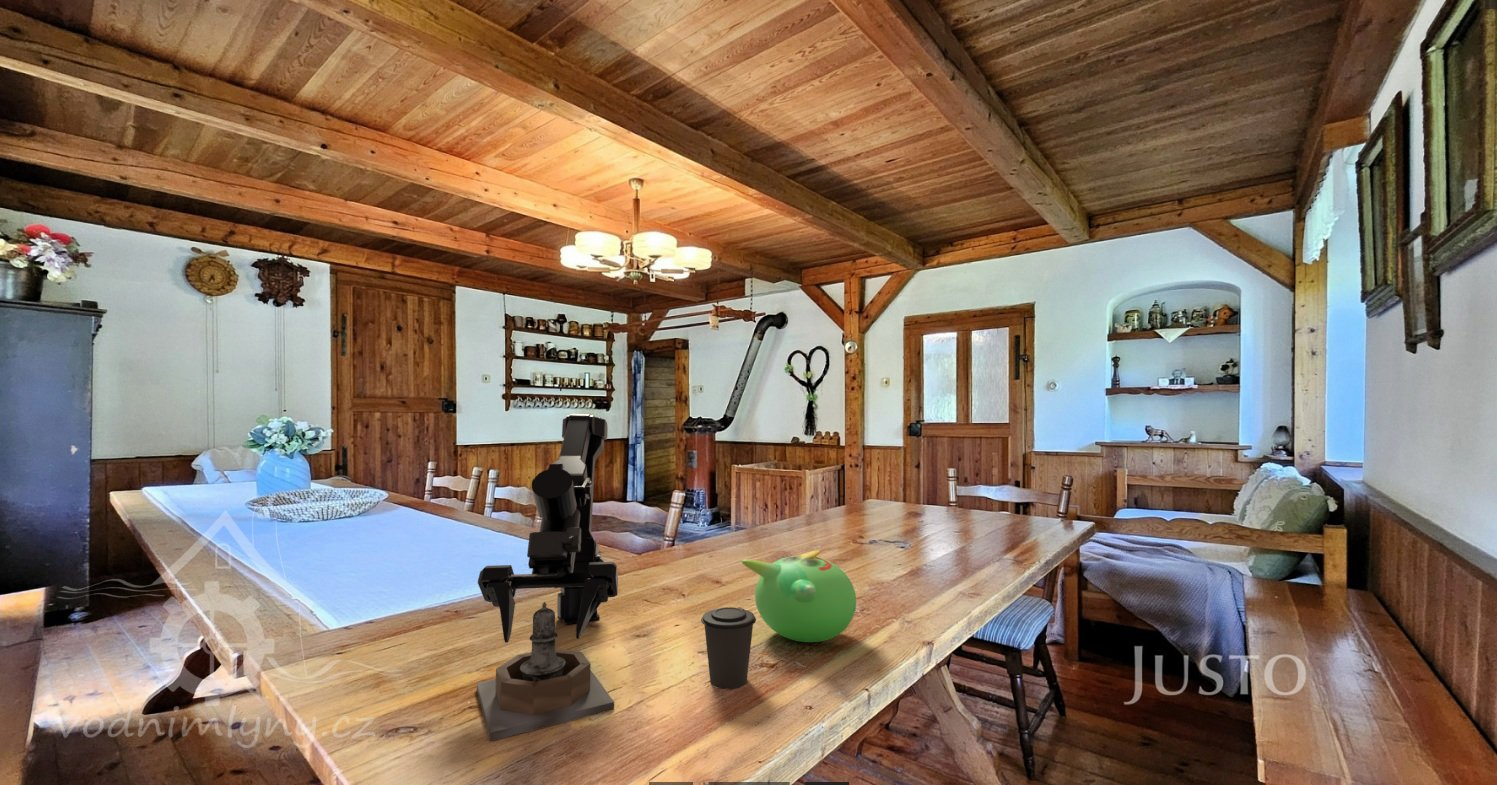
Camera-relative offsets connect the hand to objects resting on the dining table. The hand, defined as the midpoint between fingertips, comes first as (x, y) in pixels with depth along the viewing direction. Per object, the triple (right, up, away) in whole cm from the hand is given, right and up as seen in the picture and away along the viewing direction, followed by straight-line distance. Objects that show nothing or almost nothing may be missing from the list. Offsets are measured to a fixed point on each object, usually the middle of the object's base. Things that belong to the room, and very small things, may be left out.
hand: (542, 639), depth 79 cm
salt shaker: (0, -8, +1) cm, 8 cm away
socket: (0, -9, +1) cm, 9 cm away
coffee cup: (+25, -9, +7) cm, 27 cm away
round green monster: (+37, -10, +23) cm, 45 cm away
